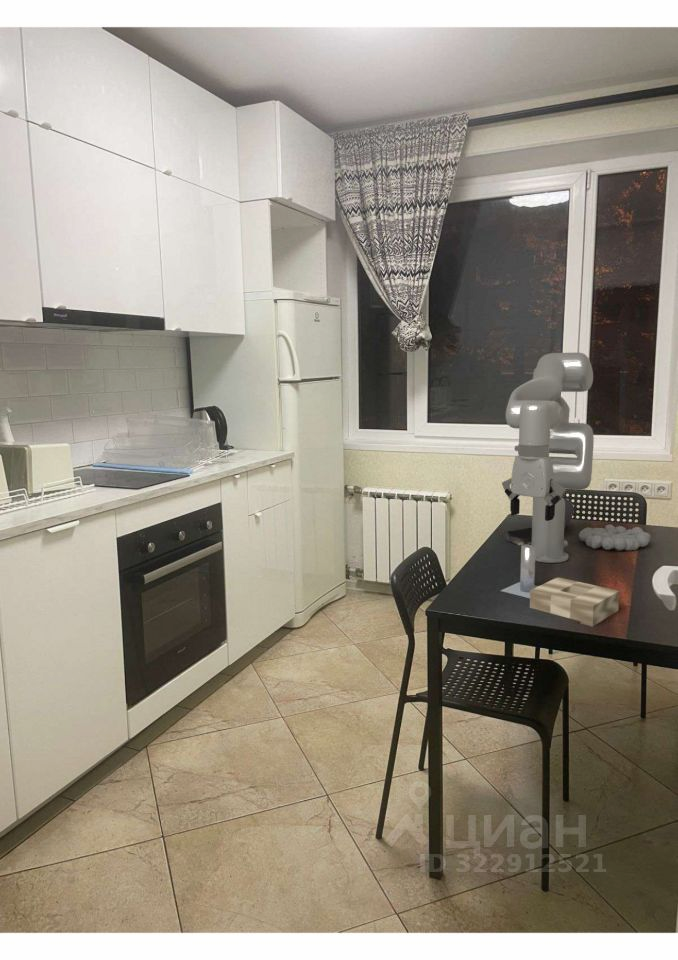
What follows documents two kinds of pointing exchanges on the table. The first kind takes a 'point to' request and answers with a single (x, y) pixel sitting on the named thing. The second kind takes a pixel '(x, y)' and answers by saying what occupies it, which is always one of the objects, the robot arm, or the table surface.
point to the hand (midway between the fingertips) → (531, 517)
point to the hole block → (575, 600)
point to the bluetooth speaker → (568, 511)
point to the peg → (527, 568)
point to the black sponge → (520, 536)
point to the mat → (517, 590)
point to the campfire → (615, 538)
